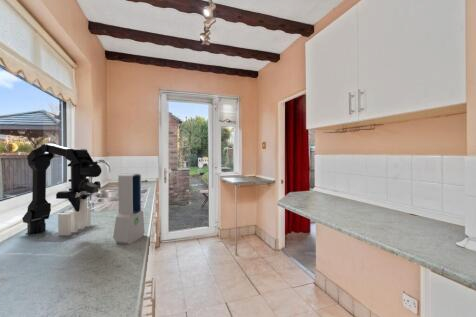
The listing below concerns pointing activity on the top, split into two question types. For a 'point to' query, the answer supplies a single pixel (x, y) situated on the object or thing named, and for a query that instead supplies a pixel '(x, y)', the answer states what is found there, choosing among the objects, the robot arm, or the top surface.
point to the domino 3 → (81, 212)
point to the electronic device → (129, 209)
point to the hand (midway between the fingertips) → (79, 211)
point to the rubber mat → (62, 238)
